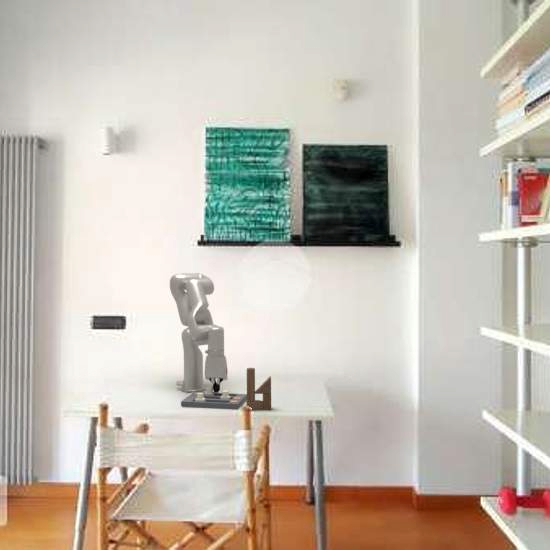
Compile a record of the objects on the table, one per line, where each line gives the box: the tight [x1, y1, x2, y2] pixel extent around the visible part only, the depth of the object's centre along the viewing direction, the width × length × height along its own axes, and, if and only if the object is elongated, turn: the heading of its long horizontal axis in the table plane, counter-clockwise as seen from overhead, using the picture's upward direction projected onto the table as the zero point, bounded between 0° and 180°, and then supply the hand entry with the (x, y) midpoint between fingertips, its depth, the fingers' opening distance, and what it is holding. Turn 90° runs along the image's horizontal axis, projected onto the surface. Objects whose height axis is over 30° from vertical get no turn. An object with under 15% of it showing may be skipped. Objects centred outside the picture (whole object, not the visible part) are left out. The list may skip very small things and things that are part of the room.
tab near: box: [195, 393, 206, 402], centre depth 250 cm, size 4×3×4 cm
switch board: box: [180, 391, 247, 410], centre depth 255 cm, size 26×18×3 cm
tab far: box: [204, 386, 215, 395], centre depth 262 cm, size 4×3×4 cm
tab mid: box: [220, 389, 231, 399], centre depth 254 cm, size 4×3×4 cm
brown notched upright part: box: [245, 367, 272, 411], centre depth 244 cm, size 4×11×18 cm, turn 94°
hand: (216, 392), depth 261 cm, fingers closed
